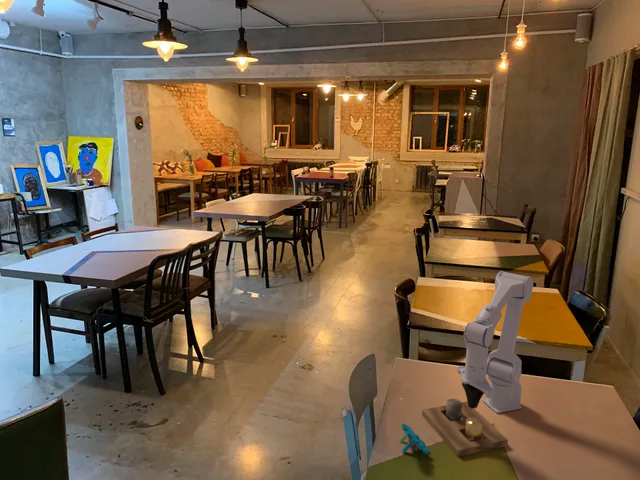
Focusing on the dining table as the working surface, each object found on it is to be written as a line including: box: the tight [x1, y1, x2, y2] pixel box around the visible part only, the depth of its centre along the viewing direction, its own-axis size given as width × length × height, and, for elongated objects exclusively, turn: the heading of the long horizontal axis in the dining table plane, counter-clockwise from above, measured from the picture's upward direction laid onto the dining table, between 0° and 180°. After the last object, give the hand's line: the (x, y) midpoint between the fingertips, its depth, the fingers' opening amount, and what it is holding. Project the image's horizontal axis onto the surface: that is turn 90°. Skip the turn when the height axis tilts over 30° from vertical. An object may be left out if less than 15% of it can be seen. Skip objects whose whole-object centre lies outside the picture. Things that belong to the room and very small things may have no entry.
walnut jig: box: [421, 398, 509, 458], centre depth 139 cm, size 16×20×6 cm
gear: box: [400, 423, 431, 455], centre depth 131 cm, size 11×6×10 cm
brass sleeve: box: [464, 417, 483, 442], centre depth 134 cm, size 4×4×6 cm
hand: (472, 406), depth 135 cm, fingers closed
